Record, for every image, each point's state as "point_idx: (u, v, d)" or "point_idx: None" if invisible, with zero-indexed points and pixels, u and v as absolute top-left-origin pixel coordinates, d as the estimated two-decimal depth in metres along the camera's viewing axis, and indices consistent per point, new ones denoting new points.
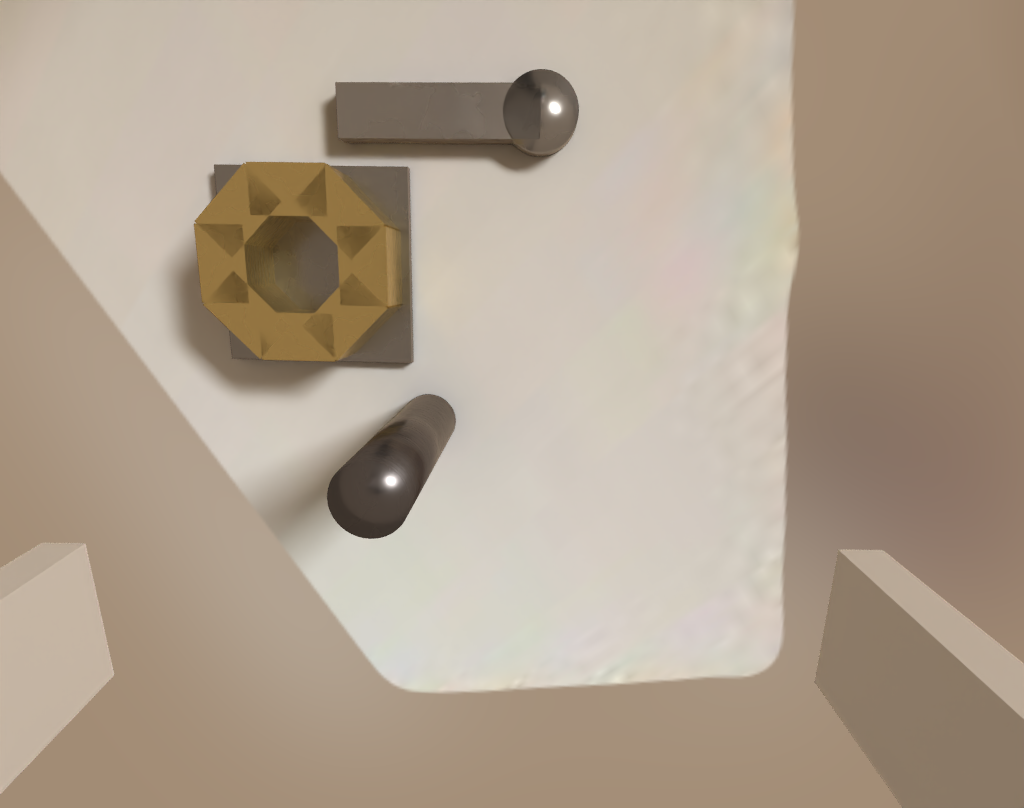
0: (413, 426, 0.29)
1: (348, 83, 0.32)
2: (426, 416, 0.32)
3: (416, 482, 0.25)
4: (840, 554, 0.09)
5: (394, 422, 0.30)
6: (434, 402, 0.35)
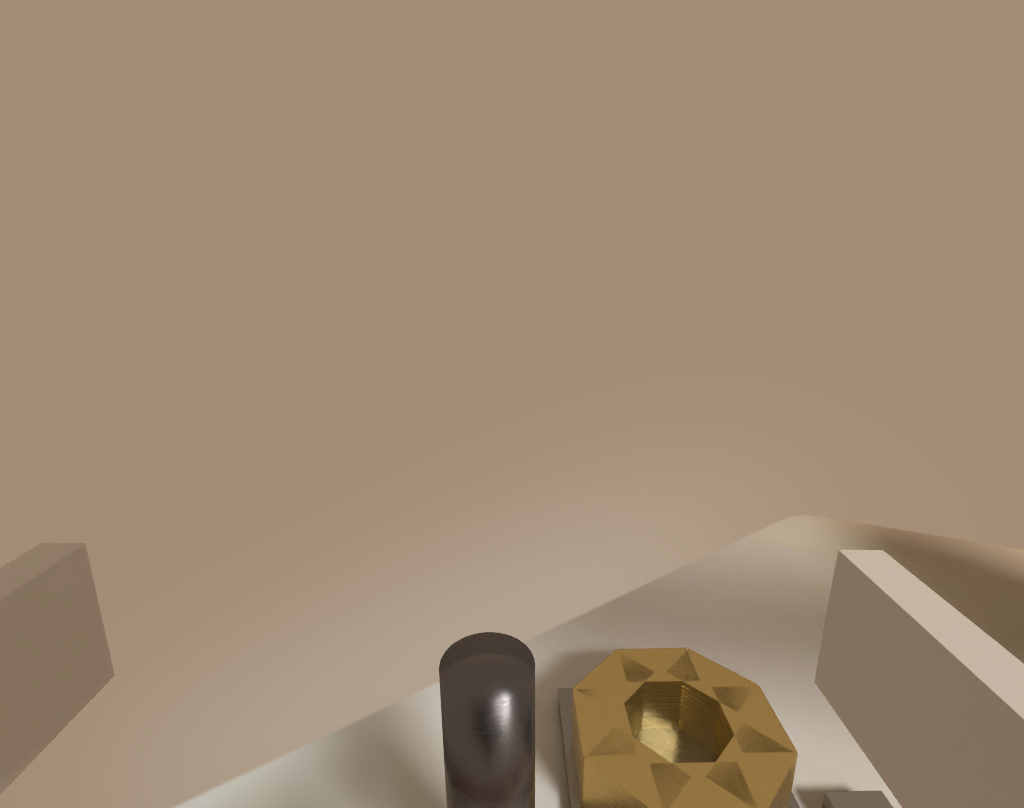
0: (532, 805, 0.22)
1: (889, 804, 0.28)
2: None
3: (494, 737, 0.19)
4: (840, 555, 0.09)
5: None
6: None
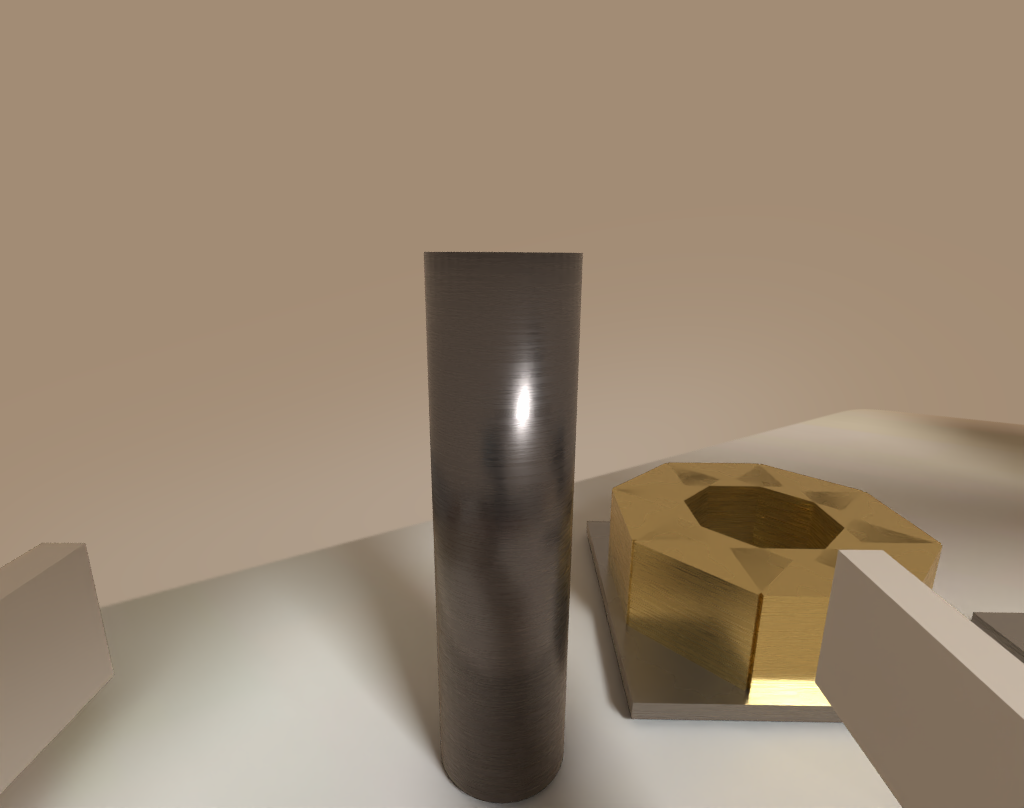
0: (570, 513, 0.14)
1: None
2: (563, 608, 0.14)
3: (514, 331, 0.11)
4: (840, 555, 0.09)
5: None
6: (562, 715, 0.15)
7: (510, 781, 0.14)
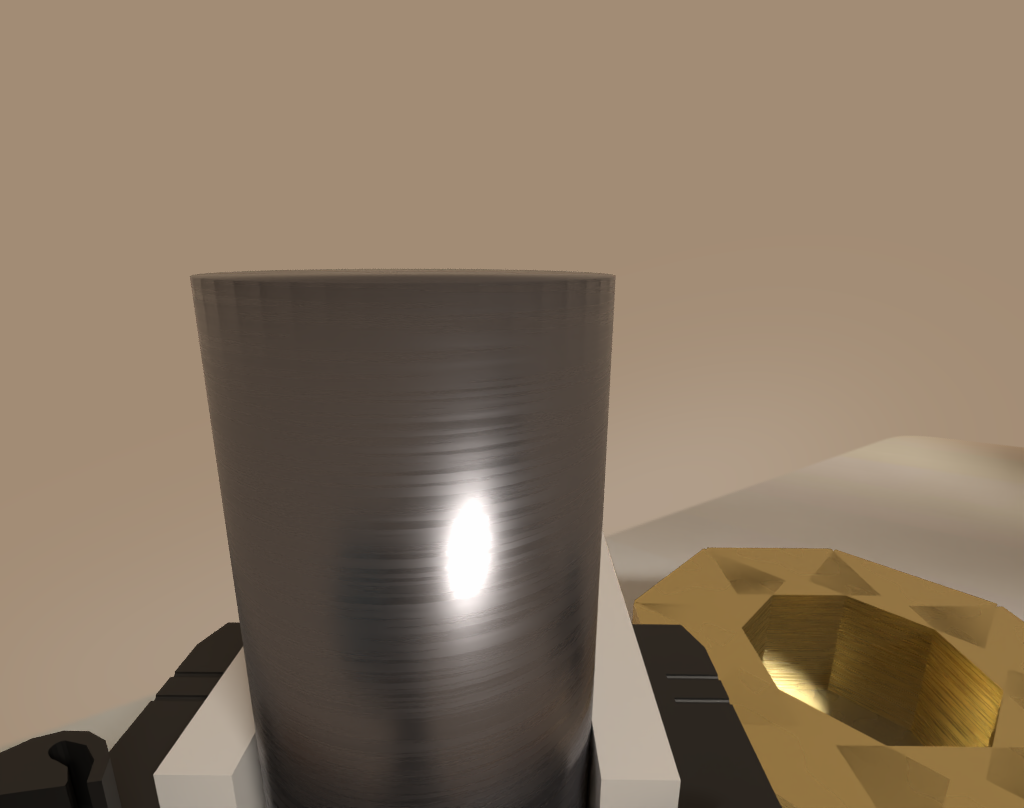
0: None
1: None
2: None
3: (420, 517, 0.04)
4: None
5: None
6: None
7: None
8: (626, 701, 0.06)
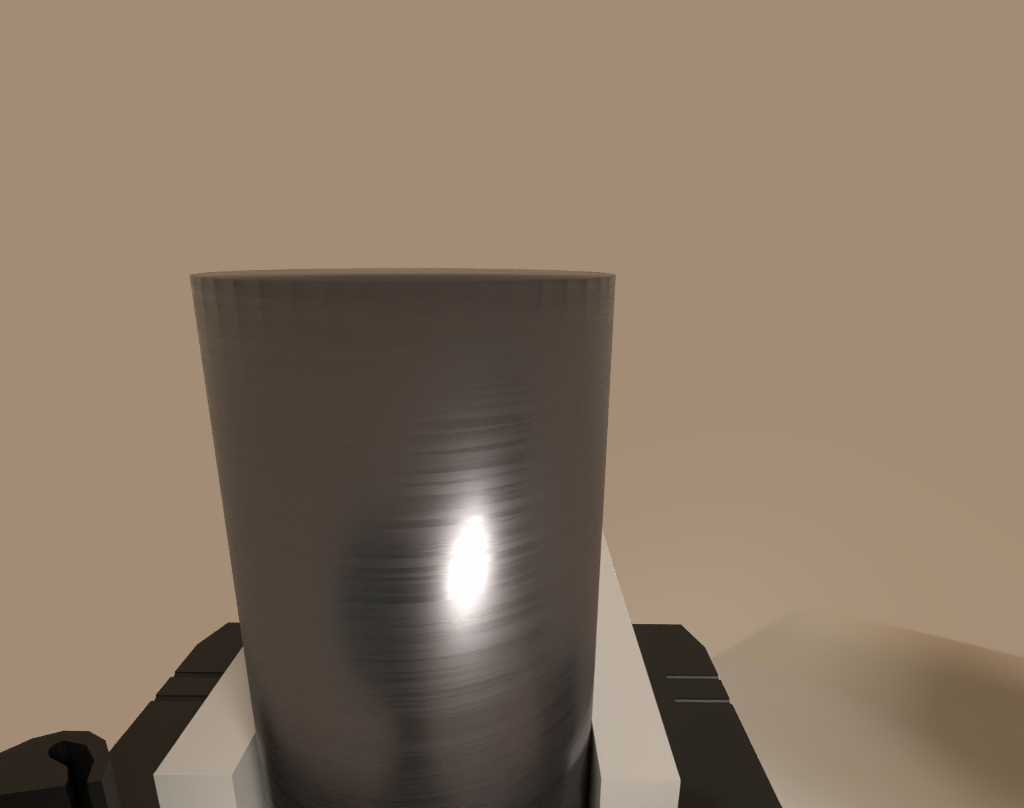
0: None
1: None
2: None
3: (420, 516, 0.04)
4: None
5: None
6: None
7: None
8: (626, 701, 0.06)
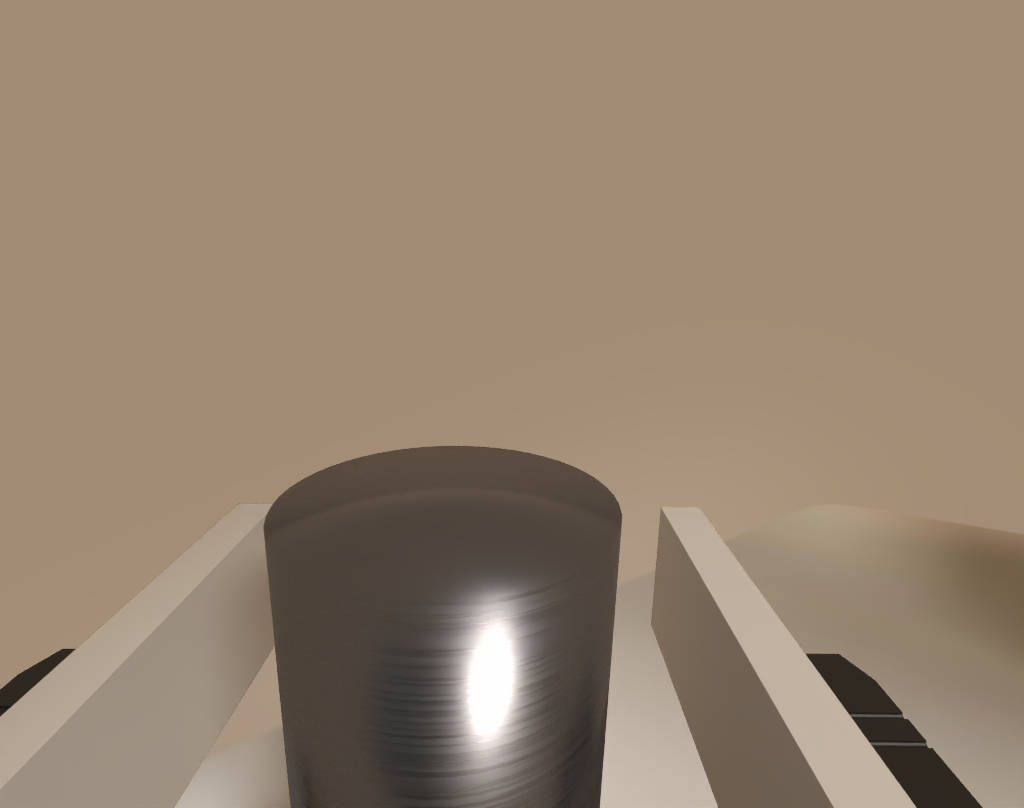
0: None
1: None
2: None
3: (458, 768, 0.04)
4: (661, 511, 0.11)
5: None
6: None
7: None
8: (843, 751, 0.06)
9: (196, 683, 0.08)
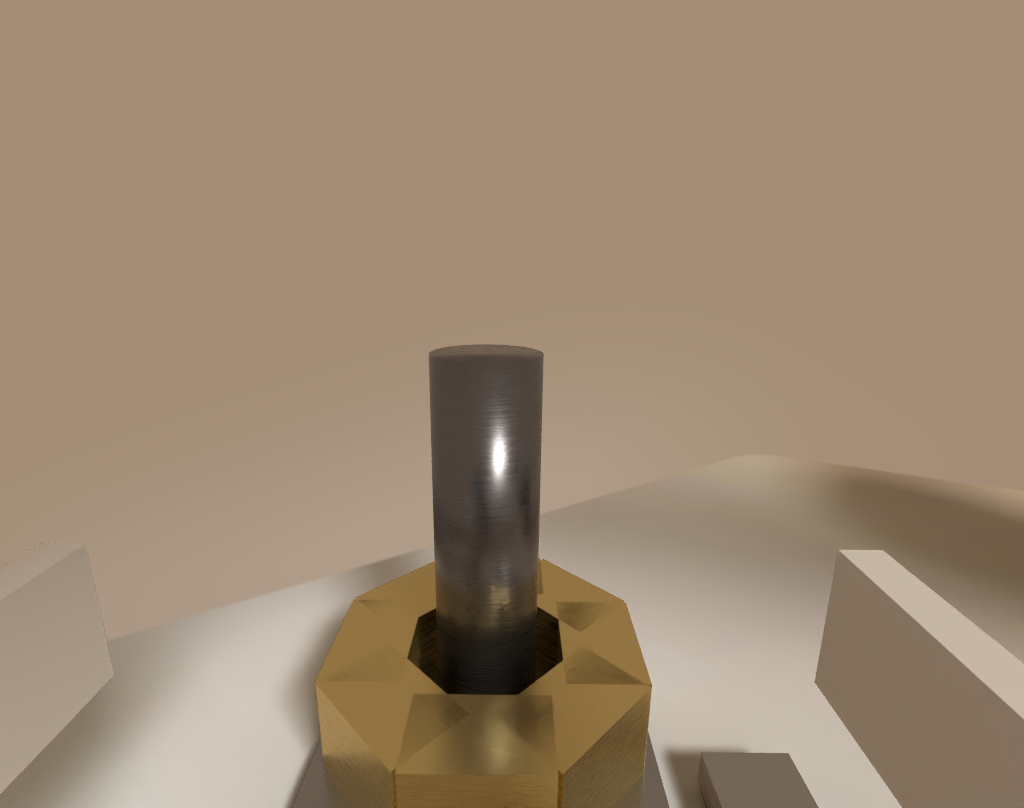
0: (536, 540, 0.18)
1: (797, 773, 0.18)
2: (531, 611, 0.19)
3: (493, 416, 0.16)
4: (840, 555, 0.09)
5: None
6: None
7: None
8: None
9: None
